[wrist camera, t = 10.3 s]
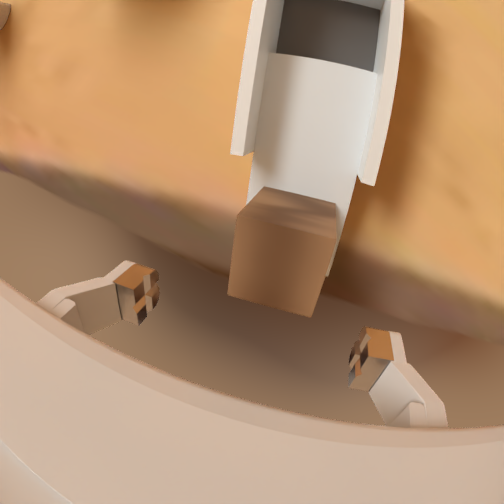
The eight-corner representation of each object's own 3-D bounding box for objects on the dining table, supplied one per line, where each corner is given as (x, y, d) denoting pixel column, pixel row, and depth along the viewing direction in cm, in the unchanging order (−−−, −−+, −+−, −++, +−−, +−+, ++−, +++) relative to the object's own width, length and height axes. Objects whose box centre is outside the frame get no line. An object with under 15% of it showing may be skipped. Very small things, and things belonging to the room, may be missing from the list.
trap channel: (391, -12, 11) (404, -40, 7) (338, 263, 23) (337, 298, 19) (280, -32, 13) (265, -62, 8) (239, 238, 24) (218, 267, 20)
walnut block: (335, 203, 18) (336, 239, 13) (318, 266, 21) (311, 317, 16) (264, 186, 19) (236, 215, 14) (253, 249, 22) (227, 294, 16)
